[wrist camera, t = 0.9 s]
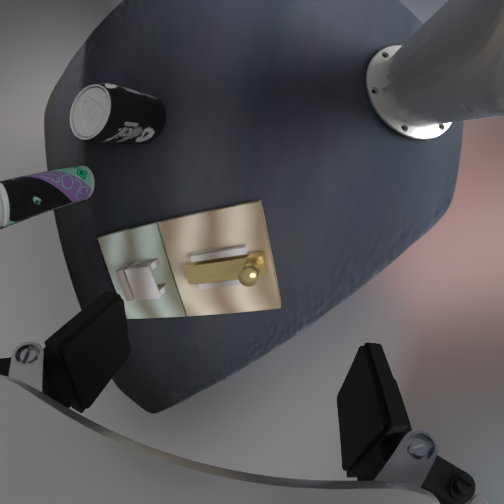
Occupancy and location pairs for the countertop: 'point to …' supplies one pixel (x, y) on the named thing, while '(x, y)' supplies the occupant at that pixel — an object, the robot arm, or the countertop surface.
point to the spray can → (43, 193)
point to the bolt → (228, 269)
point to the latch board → (190, 250)
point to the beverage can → (116, 115)
